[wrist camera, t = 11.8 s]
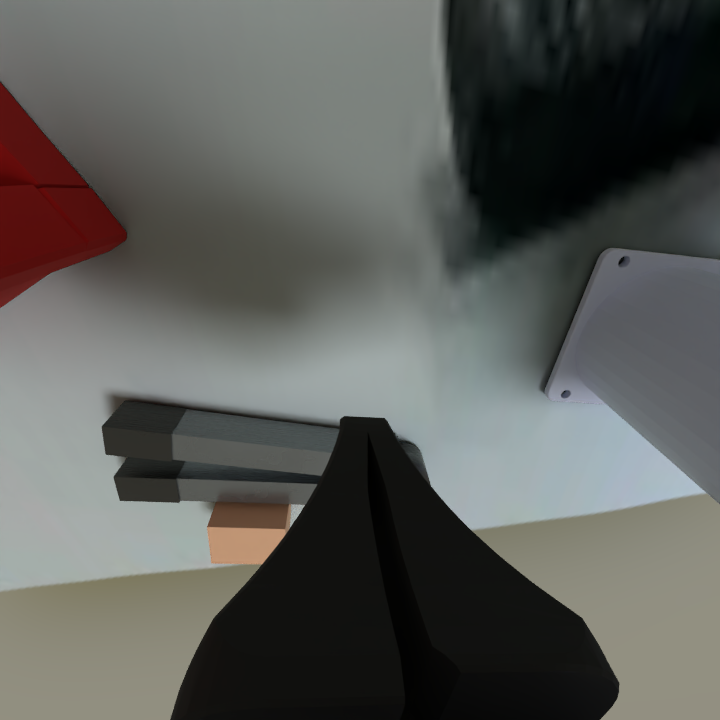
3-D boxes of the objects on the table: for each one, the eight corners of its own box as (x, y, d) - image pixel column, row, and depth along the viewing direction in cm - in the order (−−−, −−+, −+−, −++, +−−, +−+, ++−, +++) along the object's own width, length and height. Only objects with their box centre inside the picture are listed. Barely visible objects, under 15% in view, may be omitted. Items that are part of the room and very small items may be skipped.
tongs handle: (369, 459, 22) (372, 487, 20) (365, 480, 22) (368, 508, 21) (133, 448, 20) (113, 476, 18) (139, 471, 21) (119, 500, 19)
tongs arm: (429, 439, 21) (439, 467, 19) (415, 478, 22) (422, 508, 20) (125, 400, 19) (100, 428, 17) (130, 446, 20) (107, 476, 18)
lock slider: (291, 485, 22) (285, 529, 19) (290, 519, 23) (284, 564, 21) (223, 482, 22) (207, 527, 19) (225, 517, 23) (211, 563, 20)
